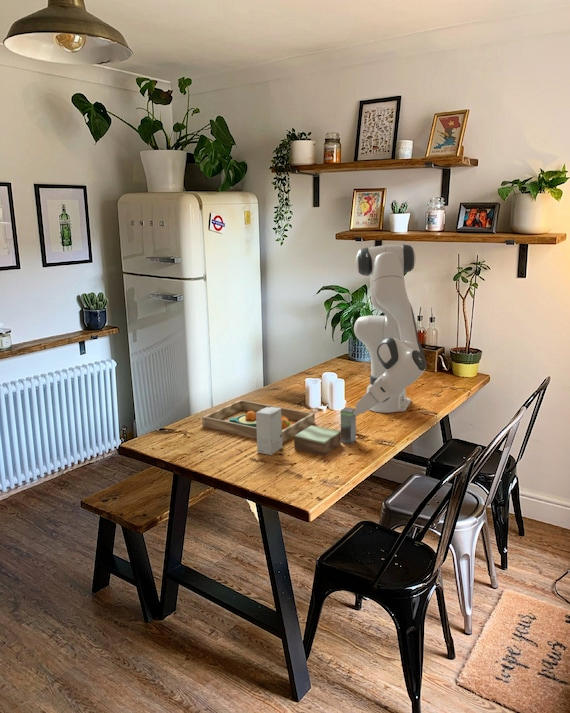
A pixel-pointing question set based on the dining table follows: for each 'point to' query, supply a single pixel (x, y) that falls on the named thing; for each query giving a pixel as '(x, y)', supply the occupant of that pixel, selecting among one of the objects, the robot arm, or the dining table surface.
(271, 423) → the skincare box
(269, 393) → the dining table surface
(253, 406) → the shallow serving tray
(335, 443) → the block
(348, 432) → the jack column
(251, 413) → the toy juicer set
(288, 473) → the dining table surface
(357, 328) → the robot arm
